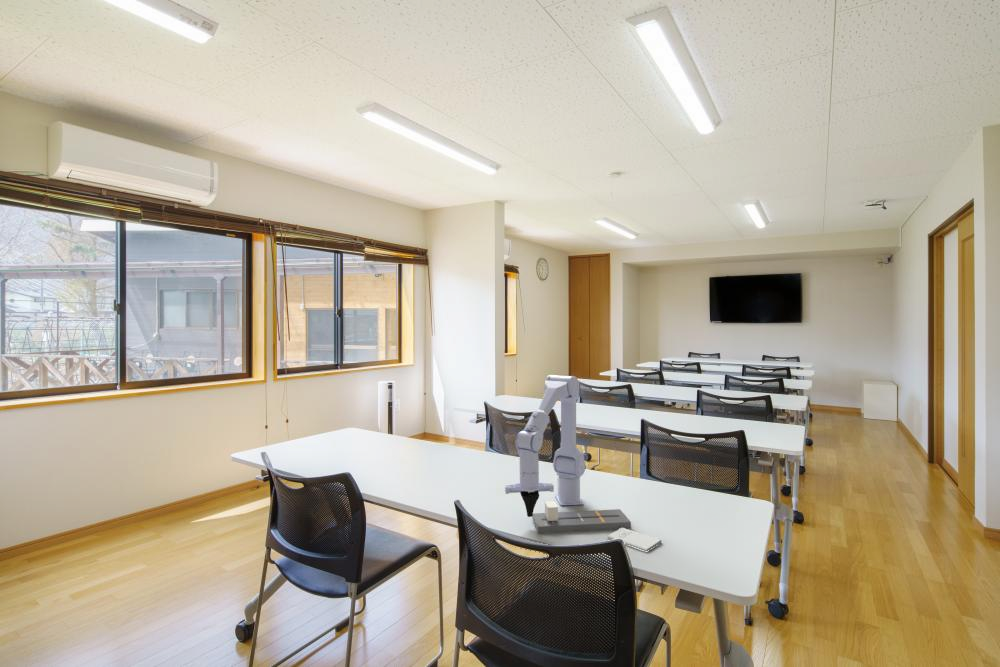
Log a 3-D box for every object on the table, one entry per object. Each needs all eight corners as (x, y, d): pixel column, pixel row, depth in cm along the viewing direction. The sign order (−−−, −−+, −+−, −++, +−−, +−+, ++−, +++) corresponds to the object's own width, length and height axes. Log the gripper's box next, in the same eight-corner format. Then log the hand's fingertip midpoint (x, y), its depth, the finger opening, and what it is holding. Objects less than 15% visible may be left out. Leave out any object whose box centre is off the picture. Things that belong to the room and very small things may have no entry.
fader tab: (544, 514, 157) (544, 501, 157) (554, 514, 157) (554, 501, 157) (548, 521, 152) (547, 507, 152) (557, 520, 152) (557, 507, 152)
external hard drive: (646, 555, 137) (607, 540, 145) (661, 545, 142) (622, 531, 151) (646, 549, 136) (607, 535, 145) (661, 539, 142) (622, 526, 151)
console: (532, 519, 159) (532, 513, 159) (619, 515, 162) (619, 508, 162) (537, 533, 149) (537, 526, 149) (630, 528, 152) (630, 521, 152)
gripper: (506, 476, 149) (507, 522, 150) (555, 474, 150) (556, 519, 151) (504, 468, 156) (504, 512, 157) (550, 467, 157) (551, 510, 158)
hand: (529, 515), depth 154 cm, fingers closed
